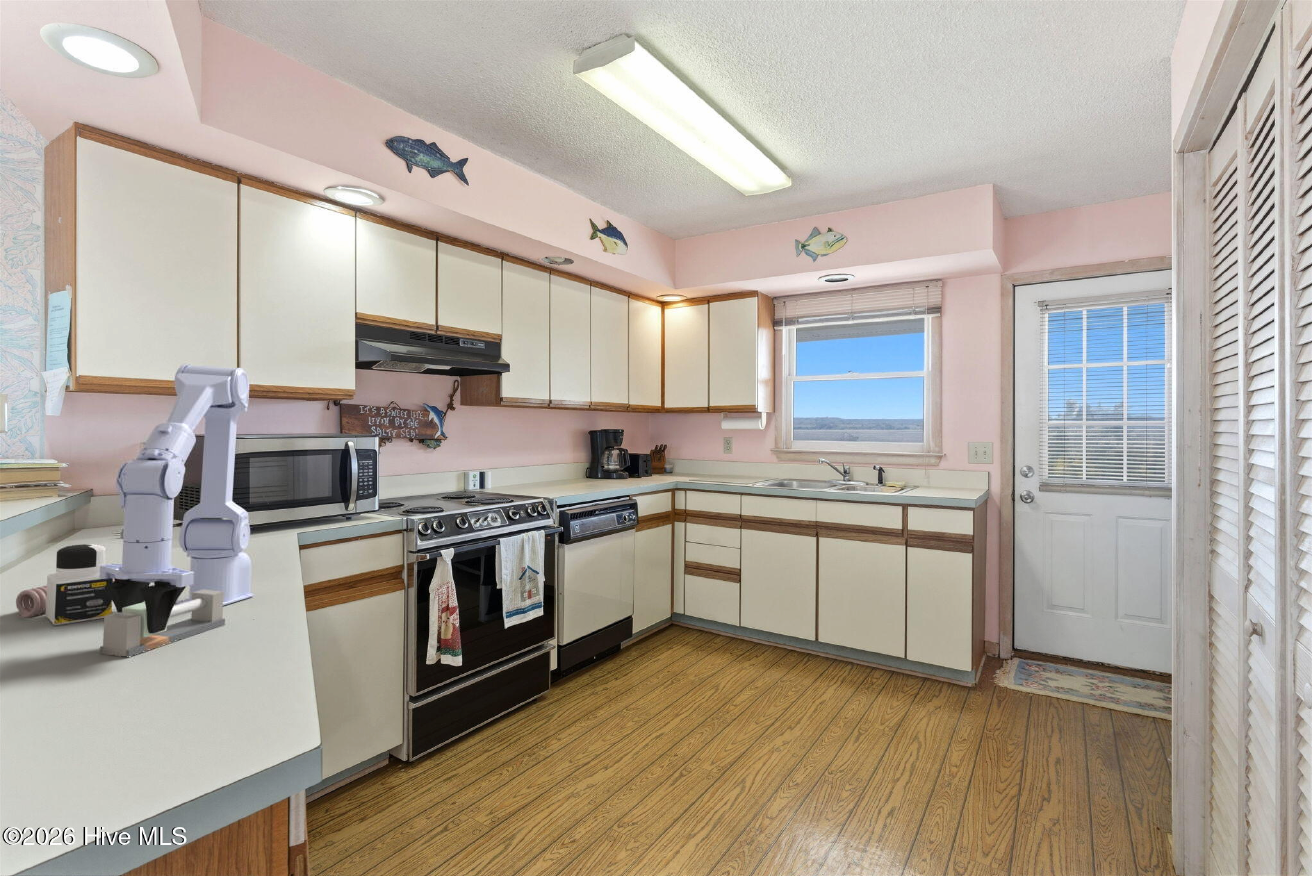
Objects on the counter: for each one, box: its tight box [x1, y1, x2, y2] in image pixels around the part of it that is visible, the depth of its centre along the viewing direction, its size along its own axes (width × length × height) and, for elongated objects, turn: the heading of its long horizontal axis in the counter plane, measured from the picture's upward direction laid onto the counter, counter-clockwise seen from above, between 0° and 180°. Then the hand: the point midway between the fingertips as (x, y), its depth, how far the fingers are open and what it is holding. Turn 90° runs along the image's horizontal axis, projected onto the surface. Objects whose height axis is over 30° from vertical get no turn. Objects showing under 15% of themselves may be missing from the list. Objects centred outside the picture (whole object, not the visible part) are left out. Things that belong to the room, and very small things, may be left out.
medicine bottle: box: [45, 543, 113, 626], centre depth 105 cm, size 7×7×12 cm
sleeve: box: [122, 602, 168, 638], centre depth 93 cm, size 4×4×4 cm
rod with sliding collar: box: [99, 590, 226, 658], centre depth 97 cm, size 16×5×6 cm, turn 170°
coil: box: [15, 579, 115, 619], centre depth 112 cm, size 5×5×18 cm
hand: (144, 629), depth 93 cm, fingers closed on sleeve, 4 cm apart
